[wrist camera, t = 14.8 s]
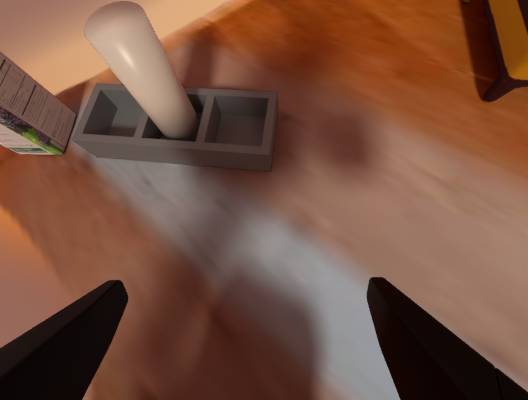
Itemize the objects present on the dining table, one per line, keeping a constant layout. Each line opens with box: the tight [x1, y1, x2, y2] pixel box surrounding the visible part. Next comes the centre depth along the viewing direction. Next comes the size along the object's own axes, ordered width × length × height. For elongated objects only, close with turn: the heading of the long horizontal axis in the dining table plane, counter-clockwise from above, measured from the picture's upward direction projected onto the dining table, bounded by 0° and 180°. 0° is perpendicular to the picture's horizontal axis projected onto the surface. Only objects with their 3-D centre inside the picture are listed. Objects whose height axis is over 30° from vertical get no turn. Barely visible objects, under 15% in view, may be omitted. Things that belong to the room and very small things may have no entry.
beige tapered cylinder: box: [84, 1, 200, 142], centre depth 21 cm, size 4×4×12 cm
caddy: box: [72, 83, 278, 172], centre depth 25 cm, size 20×7×4 cm, turn 83°
